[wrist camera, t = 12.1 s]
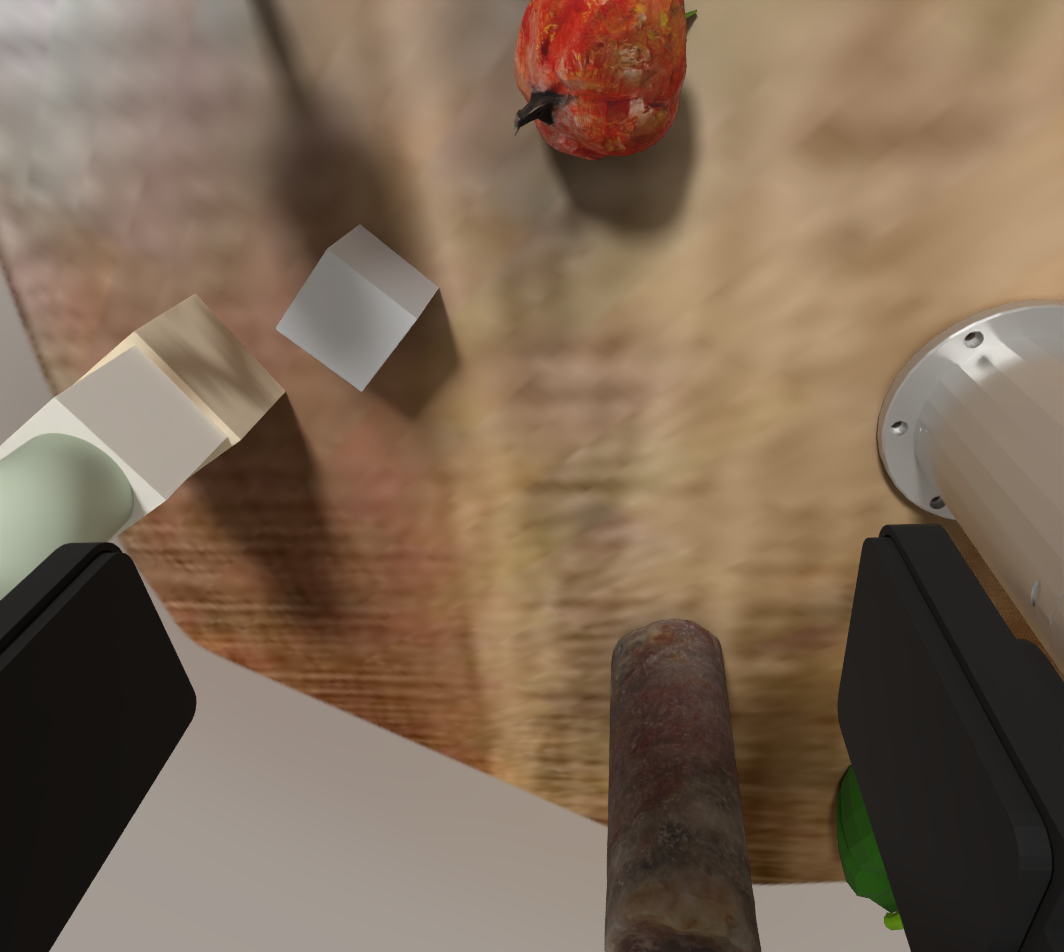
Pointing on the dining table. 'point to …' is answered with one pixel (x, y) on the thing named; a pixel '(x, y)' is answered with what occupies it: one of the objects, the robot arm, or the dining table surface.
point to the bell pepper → (862, 851)
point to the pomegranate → (601, 73)
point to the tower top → (131, 426)
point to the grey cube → (356, 306)
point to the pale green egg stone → (56, 501)
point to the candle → (674, 800)
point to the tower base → (206, 368)
